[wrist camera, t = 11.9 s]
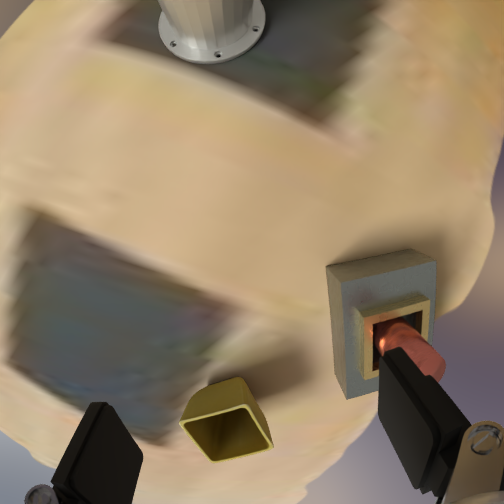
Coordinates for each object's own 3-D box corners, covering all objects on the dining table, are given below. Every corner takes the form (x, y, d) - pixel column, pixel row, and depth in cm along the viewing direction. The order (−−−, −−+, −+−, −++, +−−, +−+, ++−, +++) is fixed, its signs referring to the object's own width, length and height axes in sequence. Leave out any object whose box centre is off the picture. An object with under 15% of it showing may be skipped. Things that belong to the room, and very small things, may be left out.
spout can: (360, 304, 36) (419, 379, 21) (393, 297, 36) (462, 363, 21) (360, 336, 37) (411, 416, 22) (392, 328, 37) (452, 400, 22)
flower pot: (187, 379, 40) (176, 422, 31) (245, 360, 39) (247, 404, 31) (215, 420, 42) (211, 464, 33) (269, 404, 41) (275, 448, 33)
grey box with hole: (325, 266, 37) (345, 287, 29) (411, 248, 37) (443, 264, 29) (334, 373, 40) (349, 406, 33) (409, 352, 40) (433, 379, 33)
